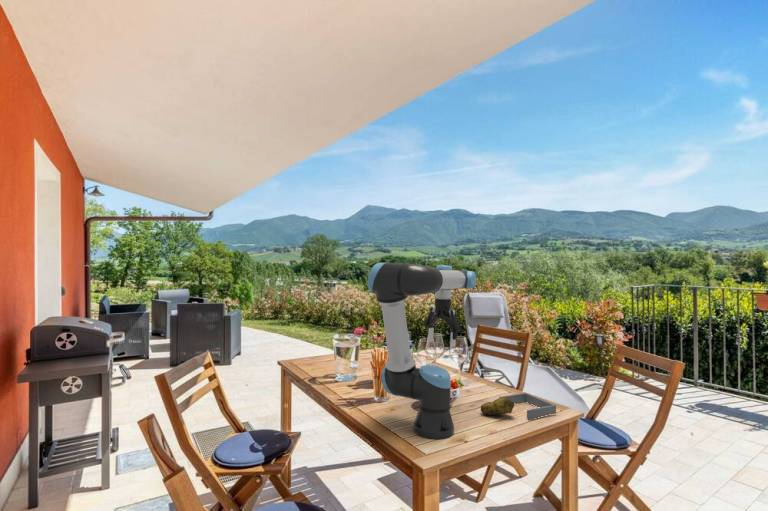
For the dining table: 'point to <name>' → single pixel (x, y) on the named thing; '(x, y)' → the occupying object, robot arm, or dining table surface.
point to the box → (544, 406)
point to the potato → (498, 406)
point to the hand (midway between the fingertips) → (441, 344)
